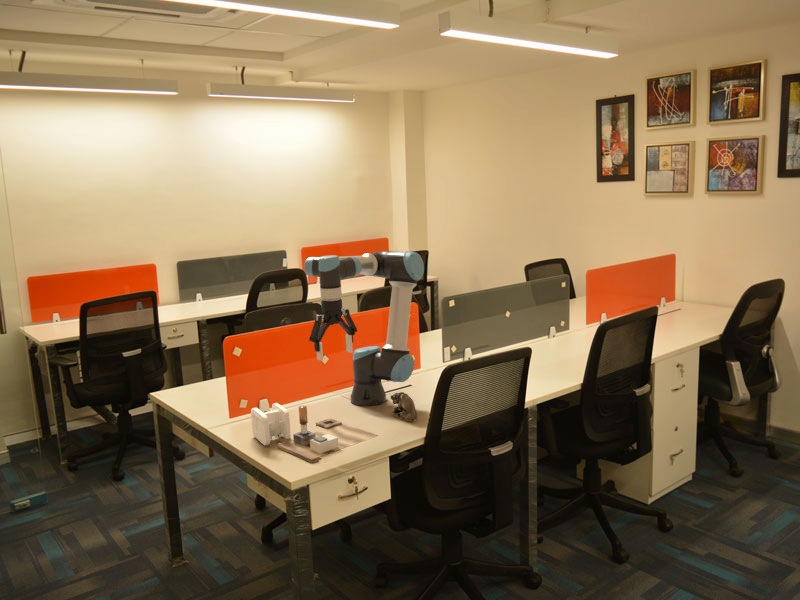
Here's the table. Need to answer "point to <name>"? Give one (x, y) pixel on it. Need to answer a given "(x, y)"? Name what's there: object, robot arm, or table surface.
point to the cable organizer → (270, 423)
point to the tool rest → (327, 426)
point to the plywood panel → (302, 443)
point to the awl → (303, 419)
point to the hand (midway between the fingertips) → (335, 355)
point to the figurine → (404, 407)
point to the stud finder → (323, 443)
